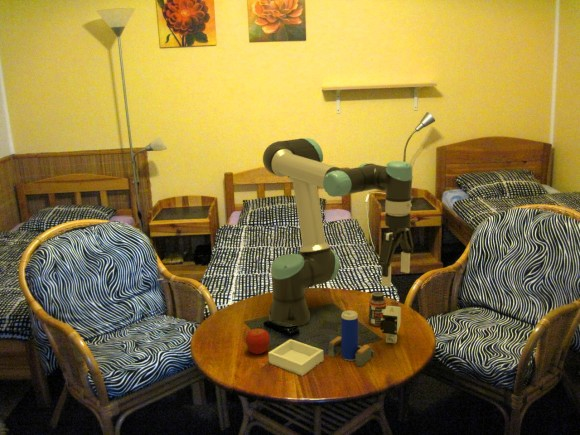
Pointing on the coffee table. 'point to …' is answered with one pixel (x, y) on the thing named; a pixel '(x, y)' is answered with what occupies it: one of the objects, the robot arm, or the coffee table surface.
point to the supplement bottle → (376, 308)
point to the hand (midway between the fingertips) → (395, 278)
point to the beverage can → (349, 335)
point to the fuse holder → (361, 355)
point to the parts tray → (296, 357)
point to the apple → (257, 340)
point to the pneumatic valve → (391, 322)
